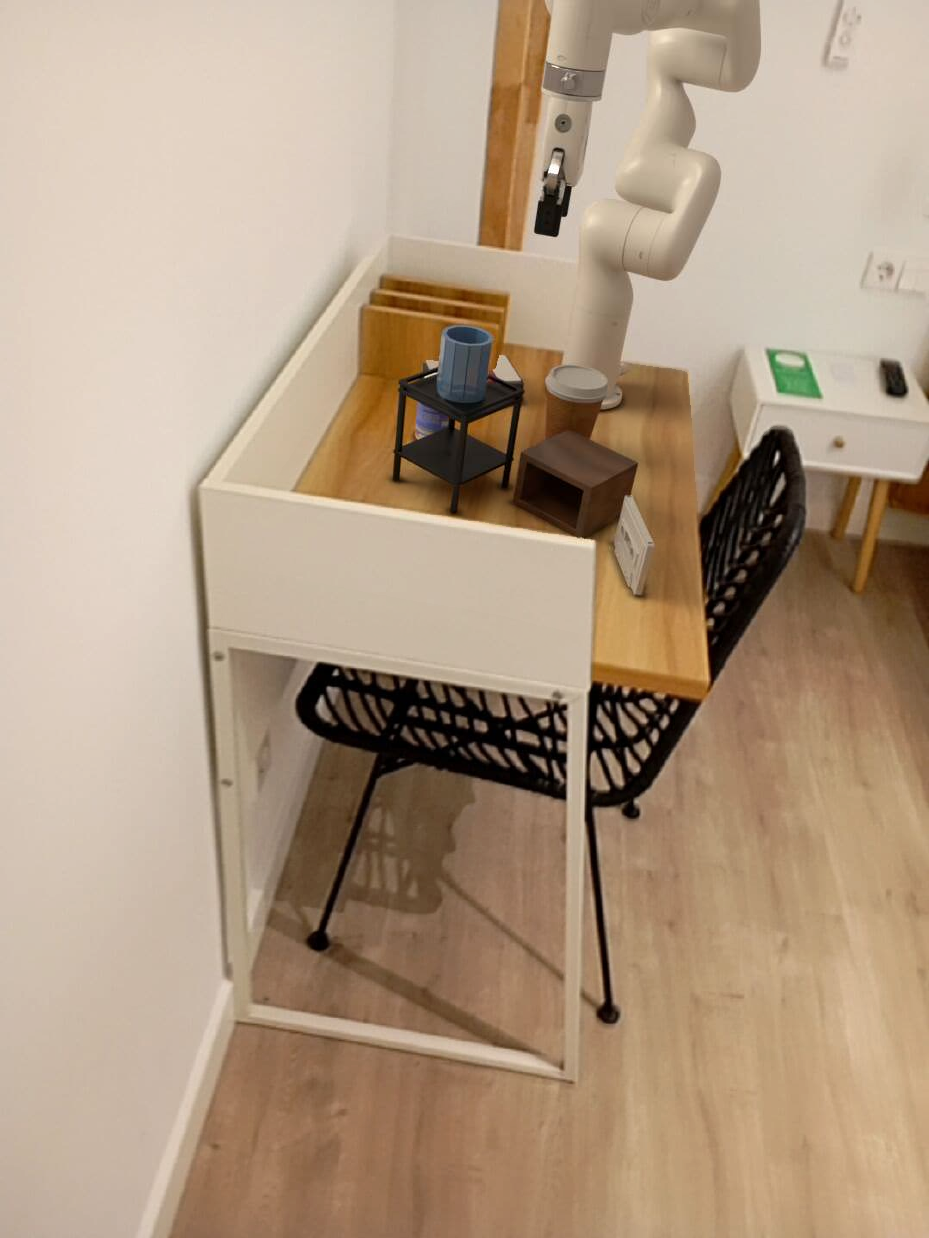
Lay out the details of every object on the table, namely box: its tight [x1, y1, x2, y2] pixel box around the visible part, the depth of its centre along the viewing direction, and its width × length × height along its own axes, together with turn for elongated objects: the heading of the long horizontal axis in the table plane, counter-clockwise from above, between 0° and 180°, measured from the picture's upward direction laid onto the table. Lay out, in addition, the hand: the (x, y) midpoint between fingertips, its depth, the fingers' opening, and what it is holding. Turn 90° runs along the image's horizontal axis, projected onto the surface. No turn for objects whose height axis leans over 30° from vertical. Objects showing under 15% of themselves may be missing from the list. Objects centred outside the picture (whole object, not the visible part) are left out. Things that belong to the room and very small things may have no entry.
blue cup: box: [437, 324, 495, 403], centre depth 133 cm, size 7×7×8 cm
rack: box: [392, 367, 526, 515], centre depth 140 cm, size 12×12×15 cm
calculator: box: [420, 354, 525, 398], centre depth 168 cm, size 11×4×15 cm
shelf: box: [512, 430, 639, 539], centre depth 140 cm, size 11×12×8 cm
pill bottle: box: [414, 373, 449, 440], centre depth 151 cm, size 5×5×10 cm
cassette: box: [613, 495, 655, 596], centre depth 129 cm, size 12×2×8 cm, turn 6°
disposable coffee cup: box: [544, 364, 609, 441], centre depth 153 cm, size 10×10×12 cm
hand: (550, 224), depth 135 cm, fingers open, 9 cm apart
